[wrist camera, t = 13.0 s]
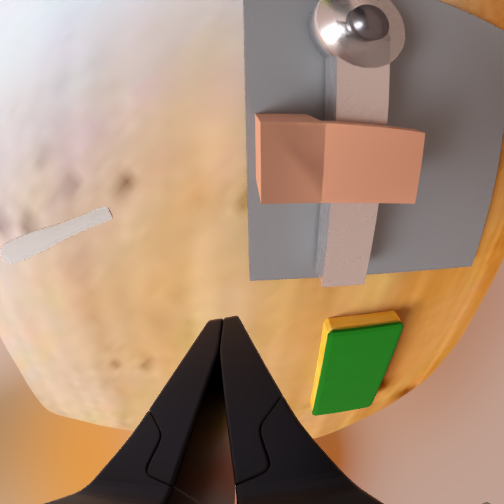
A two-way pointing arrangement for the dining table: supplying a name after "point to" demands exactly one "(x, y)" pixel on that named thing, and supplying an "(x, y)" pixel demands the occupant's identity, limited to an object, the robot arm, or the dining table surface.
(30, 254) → the butter knife
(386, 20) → the lever
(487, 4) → the dining table surface
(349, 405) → the dish sponge
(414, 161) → the block
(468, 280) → the dining table surface
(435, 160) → the base plate
